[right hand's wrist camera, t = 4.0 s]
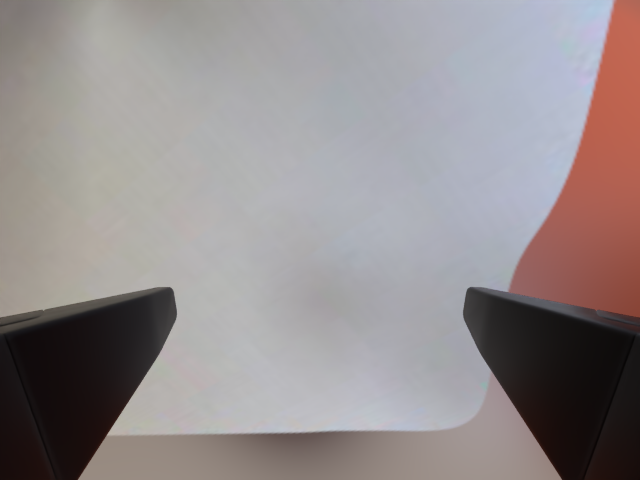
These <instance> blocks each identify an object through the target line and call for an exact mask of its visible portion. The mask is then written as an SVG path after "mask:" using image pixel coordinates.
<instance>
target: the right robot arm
mask: <svg viewBox="0 0 640 480" xmlns="http://www.w3.org/2000/svg"><path fill="white" fill-rule="evenodd" d="M176 317H177V309H176V303H175V297H174V292H173V289H172V288H170V287H157V288H152V289H147V290H142V291H137V292H132V293H127V294H122V295H117V296H112V297H107V298H101V299H96V300H91V301H86V302H81V303H76V304H71V305H66V306H61V307H56V308H51V309H46V310H44V311H43V310H38V311H33V312H28V313H22V314H17V315H12V316H7V317H1V318H0V480H78V479H79V477H80V476H81V474H82V472H83V471H84V469H85V468H86V466H87V465H88V463H89V462H90V460H91V459H92V457H93V455H94V454H95V452H96V451H97V449H98V448H99V446H100V445H101V443H102V441H103V440H104V439H105V437H106V435H107V434H108V432H109V431H110V429H111V428H112V426H113V425H114V423H115V422H116V420H117V419H118V417H119V415H120V414H121V412H122V411H123V409H124V408H125V406H126V405H127V403H128V402H129V400H130V398H131V397H132V395H133V394H134V392H135V391H136V389H137V388H138V386H139V385H140V383H141V382H142V380H143V378H144V377H145V375H146V374H147V372H148V371H149V369H150V368H151V366H152V365H153V363H154V362H155V360H156V358H157V357H158V355H159V353H160V352H161V350H162V348H163V346H164V344H165V341H166V339H167V337H168V335H169V333H170V331H171V329H172V327H173V325H174V323H175V320H176ZM463 317H464V320H465V323H466V325H467V327H468V329H469V331H470V333H471V335H472V337H473V339H474V341H475V344H476V346H477V348H478V350H479V352H480V353H481V355H482V357H483V358H484V360H485V362H486V363H487V365H488V366H489V368H490V369H491V371H492V372H493V374H494V375H495V377H496V378H497V380H498V382H499V383H500V385H501V386H502V388H503V389H504V391H505V392H506V394H507V395H508V397H509V398H510V400H511V401H512V403H513V405H514V406H515V408H516V409H517V411H518V412H519V414H520V415H521V417H522V418H523V420H524V422H525V423H526V425H527V426H528V428H529V429H530V431H531V432H532V434H533V435H534V437H535V439H536V440H537V442H538V443H539V445H540V446H541V448H542V449H543V451H544V452H545V454H546V455H547V457H548V459H549V460H550V462H551V463H552V465H553V466H554V468H555V469H556V471H557V472H558V474H559V476H560V477H561V479H562V480H640V318H639V317H633V316H628V315H623V314H618V313H612V312H607V311H602V310H597V311H596V310H594V309H590V308H584V307H579V306H574V305H569V304H564V303H559V302H554V301H549V300H544V299H539V298H533V297H528V296H523V295H518V294H513V293H508V292H503V291H498V290H493V289H488V288H483V287H470V288H468V289H467V292H466V297H465V303H464V309H463Z"/></svg>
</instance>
